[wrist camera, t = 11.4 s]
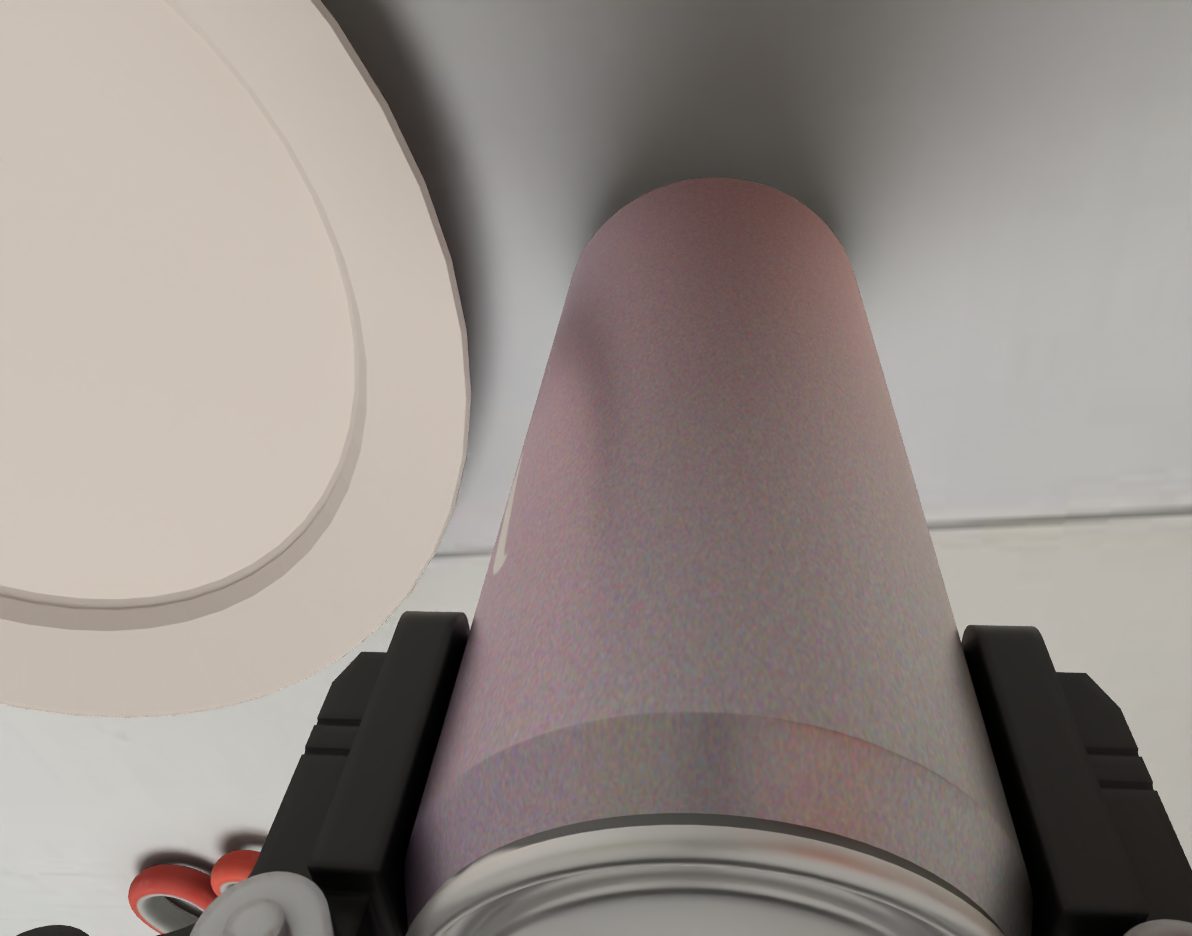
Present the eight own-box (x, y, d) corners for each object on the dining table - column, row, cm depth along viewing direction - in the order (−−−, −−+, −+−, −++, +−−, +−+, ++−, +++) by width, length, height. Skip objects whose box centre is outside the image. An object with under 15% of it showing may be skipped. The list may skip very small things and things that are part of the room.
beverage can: (824, 437, 22) (957, 1222, 10) (565, 410, 23) (389, 1143, 10) (884, 180, 19) (1195, 896, 7) (578, 151, 19) (341, 790, 7)
